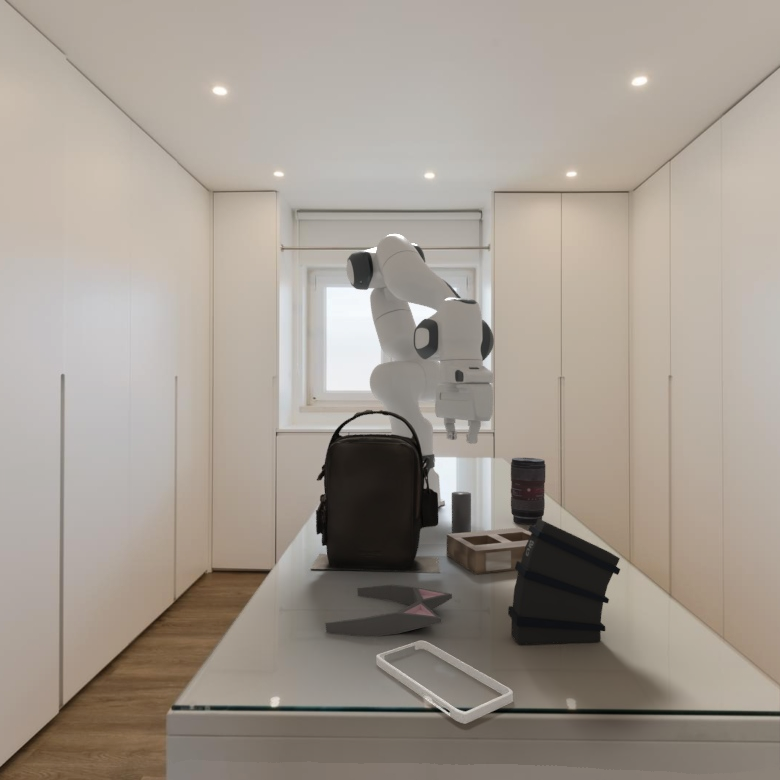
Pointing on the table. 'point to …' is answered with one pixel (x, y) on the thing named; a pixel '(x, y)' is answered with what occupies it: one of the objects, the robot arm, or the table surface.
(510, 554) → the socket block
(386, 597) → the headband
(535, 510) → the camera lens
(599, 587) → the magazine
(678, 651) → the table surface
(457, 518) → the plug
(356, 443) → the shoulder bag
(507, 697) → the phone case
